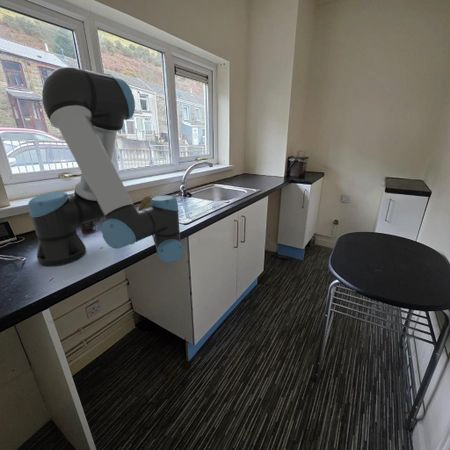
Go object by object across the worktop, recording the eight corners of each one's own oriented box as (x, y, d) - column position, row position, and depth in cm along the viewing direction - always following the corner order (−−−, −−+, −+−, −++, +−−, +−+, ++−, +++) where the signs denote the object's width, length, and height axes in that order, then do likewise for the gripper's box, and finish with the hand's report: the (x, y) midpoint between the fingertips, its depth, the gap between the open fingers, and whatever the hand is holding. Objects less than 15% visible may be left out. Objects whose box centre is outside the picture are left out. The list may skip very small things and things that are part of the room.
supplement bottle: (99, 230, 113) (94, 207, 109) (87, 235, 108) (81, 211, 104) (91, 228, 116) (86, 205, 112) (79, 232, 111) (73, 209, 107)
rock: (139, 214, 128) (156, 208, 134) (132, 200, 129) (150, 195, 135) (136, 221, 138) (153, 215, 143) (130, 207, 138) (146, 202, 144)
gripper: (145, 247, 82) (140, 224, 103) (182, 241, 87) (170, 220, 107) (142, 227, 80) (138, 207, 100) (181, 222, 84) (169, 204, 105)
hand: (155, 214), depth 104 cm, fingers closed
